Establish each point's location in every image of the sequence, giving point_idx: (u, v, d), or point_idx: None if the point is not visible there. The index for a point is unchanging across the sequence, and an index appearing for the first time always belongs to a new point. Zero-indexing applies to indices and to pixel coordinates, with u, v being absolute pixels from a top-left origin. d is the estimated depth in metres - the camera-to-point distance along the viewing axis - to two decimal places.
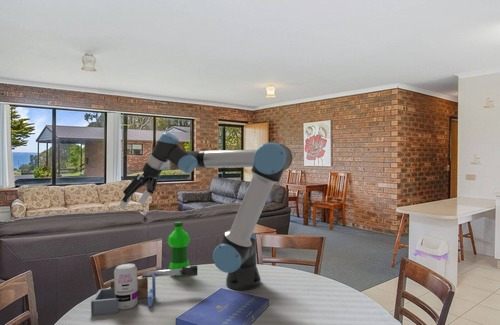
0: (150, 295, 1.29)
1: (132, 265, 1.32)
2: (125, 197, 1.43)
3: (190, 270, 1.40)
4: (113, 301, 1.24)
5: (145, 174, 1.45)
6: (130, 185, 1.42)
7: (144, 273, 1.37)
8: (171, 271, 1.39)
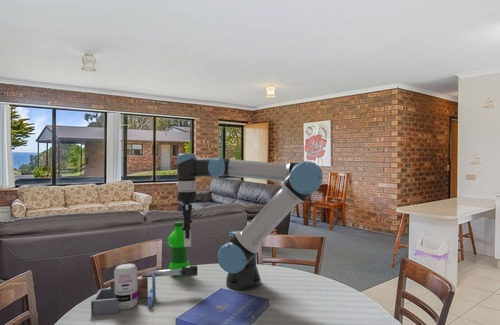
0: (150, 295, 1.29)
1: (132, 265, 1.32)
2: (187, 233, 1.33)
3: (190, 270, 1.40)
4: (113, 301, 1.24)
5: (187, 202, 1.38)
6: (184, 218, 1.33)
7: (144, 273, 1.37)
8: (171, 271, 1.39)
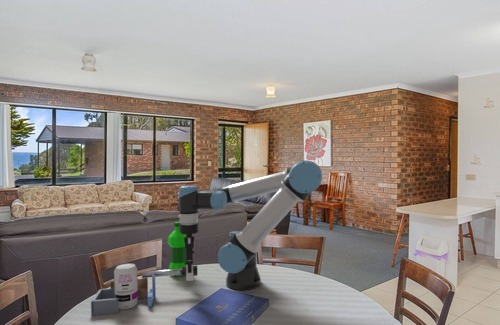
0: (150, 295, 1.29)
1: (132, 265, 1.32)
2: (189, 267, 1.33)
3: None
4: (113, 301, 1.24)
5: (189, 235, 1.38)
6: (187, 253, 1.33)
7: (144, 273, 1.37)
8: (171, 271, 1.39)
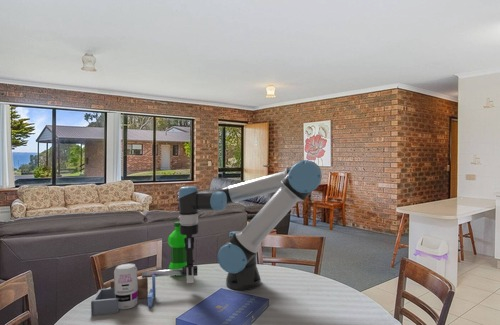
0: (150, 295, 1.29)
1: (132, 265, 1.32)
2: (190, 270, 1.38)
3: None
4: (113, 301, 1.24)
5: (190, 236, 1.38)
6: (187, 257, 1.35)
7: (144, 273, 1.37)
8: (171, 271, 1.39)
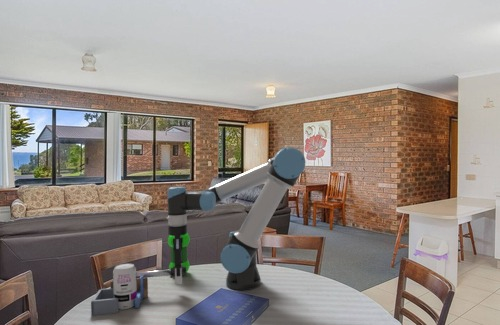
0: (137, 296, 1.28)
1: (131, 265, 1.31)
2: (178, 271, 1.37)
3: None
4: (113, 301, 1.24)
5: (178, 236, 1.37)
6: (175, 258, 1.35)
7: None
8: (159, 272, 1.38)
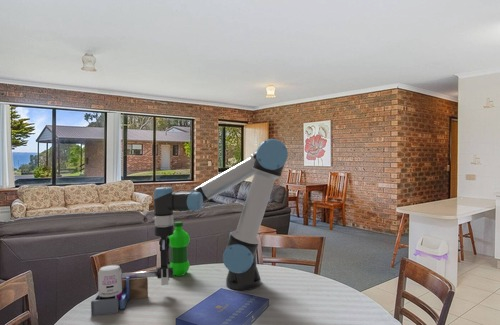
0: (122, 297, 1.28)
1: (116, 266, 1.30)
2: (164, 272, 1.36)
3: None
4: (113, 301, 1.24)
5: (164, 237, 1.36)
6: (161, 259, 1.34)
7: None
8: (146, 273, 1.37)
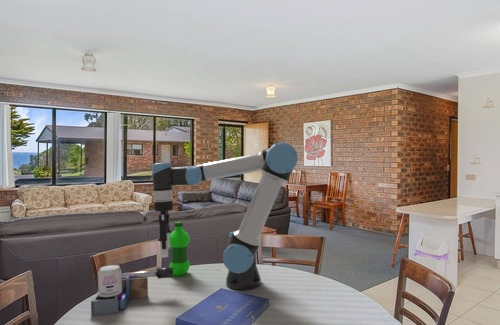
0: (122, 297, 1.28)
1: (116, 266, 1.30)
2: (163, 244, 1.31)
3: (165, 272, 1.38)
4: (113, 301, 1.24)
5: (164, 212, 1.36)
6: (160, 229, 1.31)
7: None
8: (146, 273, 1.37)
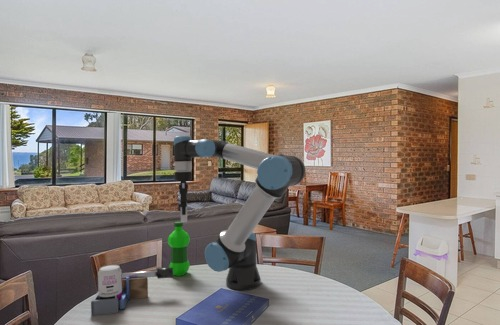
0: (122, 297, 1.28)
1: (116, 266, 1.30)
2: (183, 209, 1.42)
3: (165, 272, 1.38)
4: (113, 301, 1.24)
5: (184, 181, 1.47)
6: (181, 195, 1.42)
7: None
8: (146, 273, 1.37)
